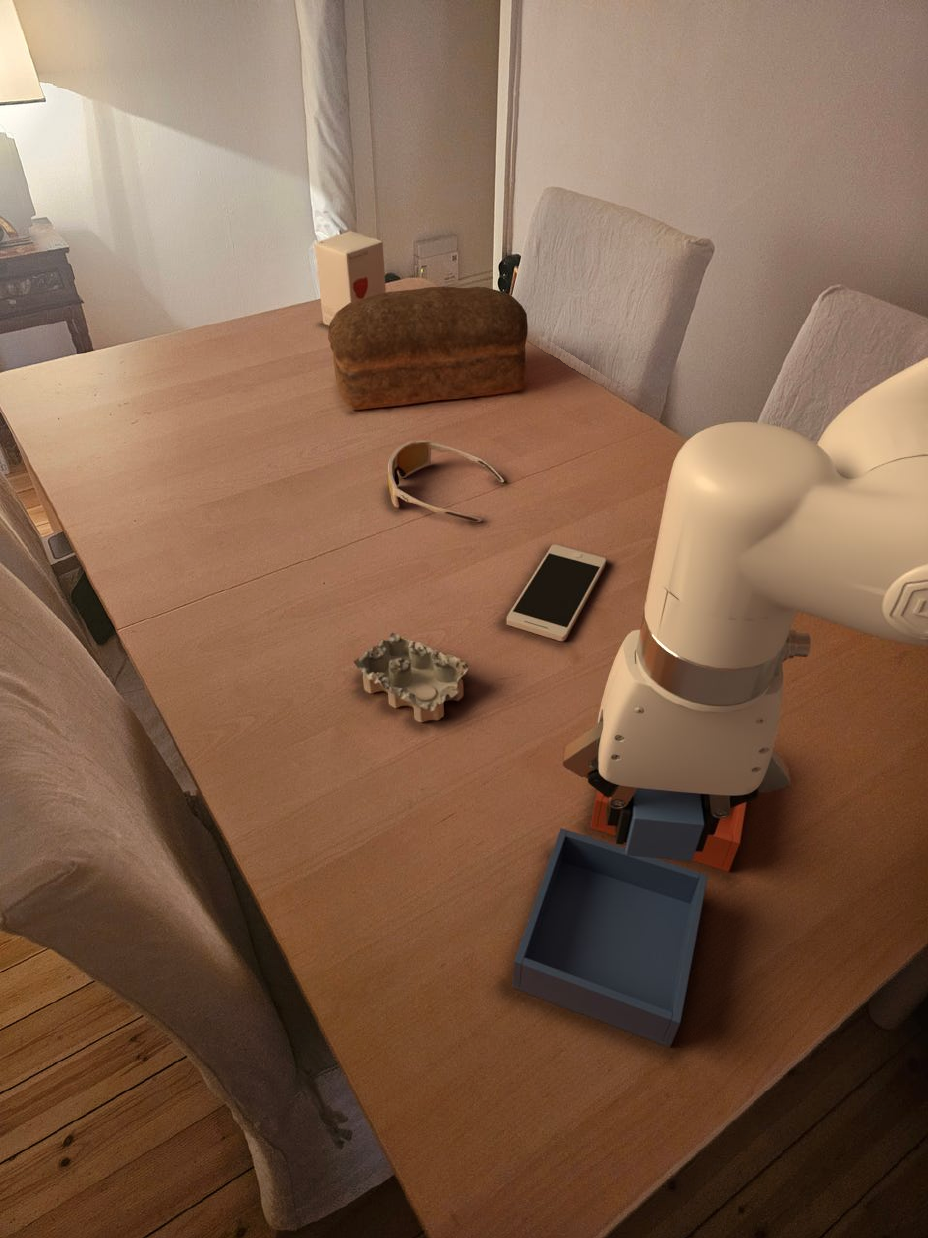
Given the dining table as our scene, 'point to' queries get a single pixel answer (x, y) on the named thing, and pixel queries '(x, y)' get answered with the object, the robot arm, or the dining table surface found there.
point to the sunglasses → (416, 458)
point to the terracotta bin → (717, 846)
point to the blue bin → (612, 936)
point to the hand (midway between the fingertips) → (657, 828)
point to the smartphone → (556, 592)
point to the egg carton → (413, 676)
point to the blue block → (665, 824)
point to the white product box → (348, 271)
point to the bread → (428, 346)
